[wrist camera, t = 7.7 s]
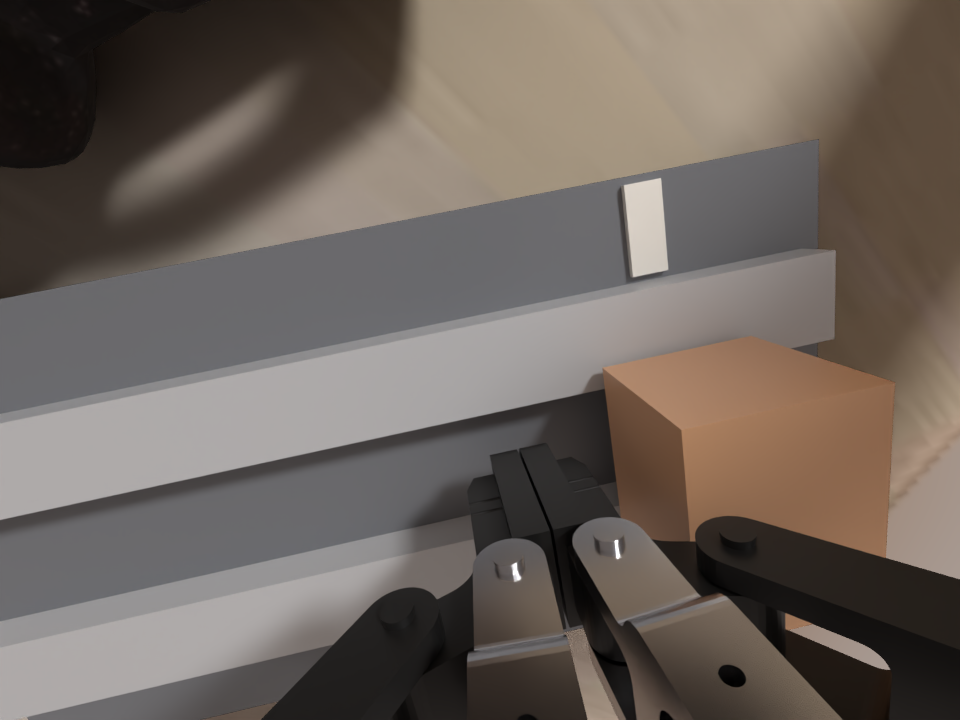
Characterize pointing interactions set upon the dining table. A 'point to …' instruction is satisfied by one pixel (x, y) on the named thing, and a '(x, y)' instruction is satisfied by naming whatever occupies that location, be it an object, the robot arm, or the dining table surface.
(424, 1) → the dining table surface
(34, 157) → the figurine
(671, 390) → the block
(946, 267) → the dining table surface
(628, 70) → the dining table surface
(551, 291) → the twin slider track
